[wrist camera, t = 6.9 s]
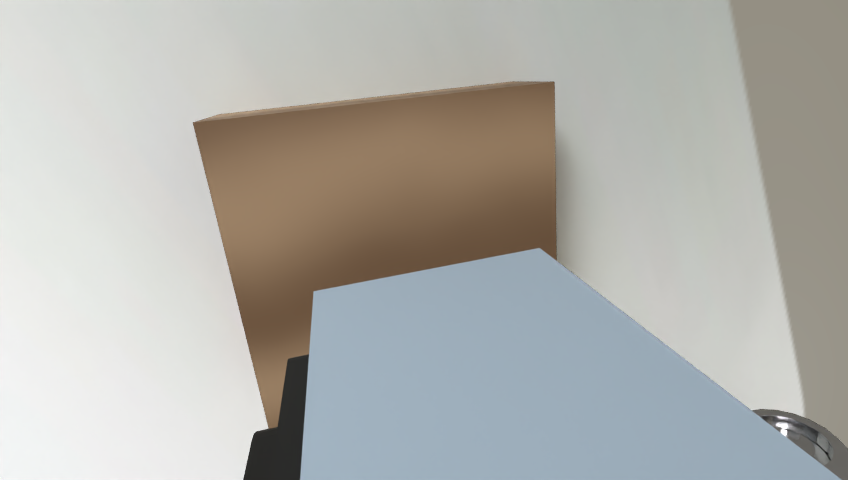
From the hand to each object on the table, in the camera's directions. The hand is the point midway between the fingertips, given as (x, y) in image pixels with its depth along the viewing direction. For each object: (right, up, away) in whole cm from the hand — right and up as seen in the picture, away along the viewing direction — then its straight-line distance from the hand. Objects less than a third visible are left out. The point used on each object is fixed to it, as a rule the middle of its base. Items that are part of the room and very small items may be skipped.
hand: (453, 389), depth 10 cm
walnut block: (-2, +3, +10) cm, 11 cm away
